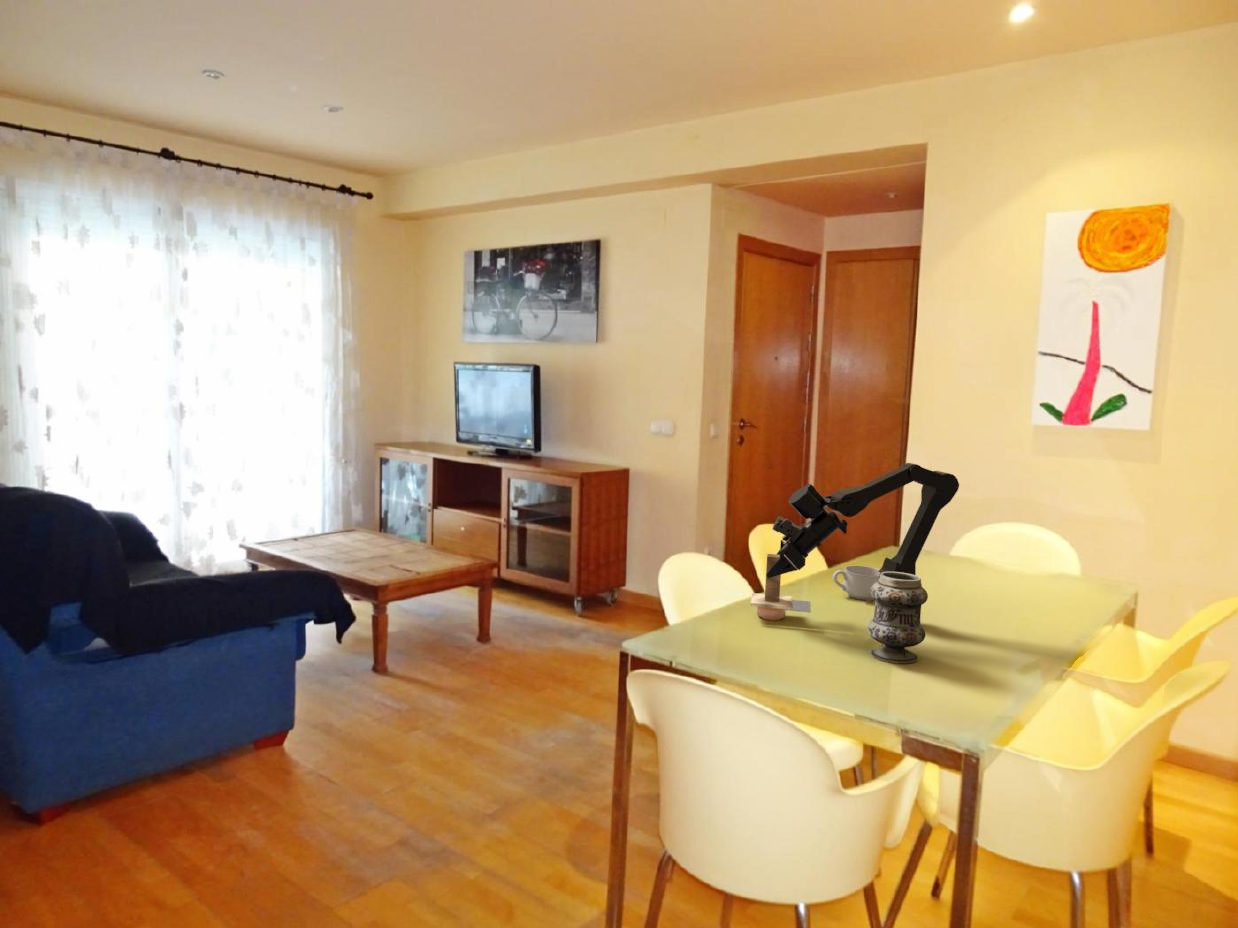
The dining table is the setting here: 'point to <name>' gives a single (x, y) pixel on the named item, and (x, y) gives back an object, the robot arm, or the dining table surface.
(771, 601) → the brown wooden post
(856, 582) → the teacup
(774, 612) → the pink rounded disc
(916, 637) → the apothecary jar
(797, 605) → the rubber mat
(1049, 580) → the dining table surface
